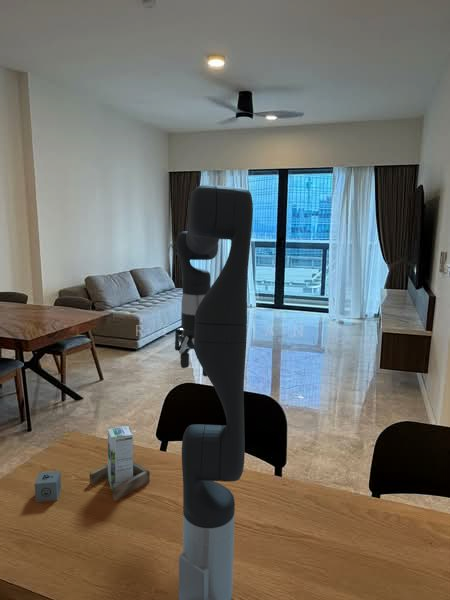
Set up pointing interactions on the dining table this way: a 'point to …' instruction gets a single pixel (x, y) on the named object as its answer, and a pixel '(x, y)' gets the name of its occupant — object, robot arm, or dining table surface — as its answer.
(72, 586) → the dining table surface
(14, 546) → the dining table surface
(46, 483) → the dice cube
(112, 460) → the syrup box
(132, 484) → the frame
